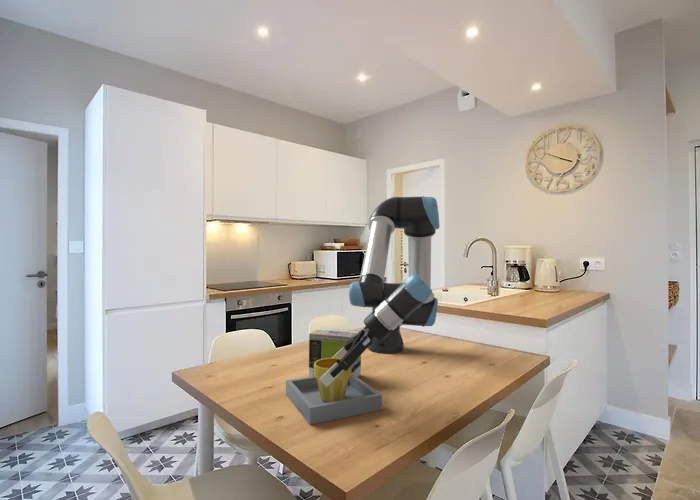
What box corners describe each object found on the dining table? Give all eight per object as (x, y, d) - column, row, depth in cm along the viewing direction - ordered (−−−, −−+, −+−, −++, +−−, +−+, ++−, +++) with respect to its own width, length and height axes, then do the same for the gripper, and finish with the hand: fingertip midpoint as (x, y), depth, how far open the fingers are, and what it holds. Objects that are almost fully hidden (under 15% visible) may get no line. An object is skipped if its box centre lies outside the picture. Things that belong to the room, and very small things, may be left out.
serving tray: (285, 394, 108) (286, 380, 108) (348, 384, 117) (348, 371, 117) (309, 424, 90) (310, 408, 90) (381, 409, 99) (381, 394, 99)
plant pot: (313, 391, 108) (314, 357, 108) (349, 390, 109) (350, 356, 109) (313, 406, 98) (313, 369, 98) (352, 405, 99) (353, 368, 98)
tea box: (361, 374, 126) (362, 330, 125) (351, 384, 116) (352, 337, 116) (320, 368, 131) (320, 326, 130) (307, 378, 121) (308, 332, 121)
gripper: (393, 343, 89) (330, 402, 91) (391, 321, 114) (341, 368, 115) (371, 320, 89) (308, 379, 91) (374, 303, 114) (324, 350, 116)
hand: (326, 373), depth 103 cm, fingers open, 13 cm apart
